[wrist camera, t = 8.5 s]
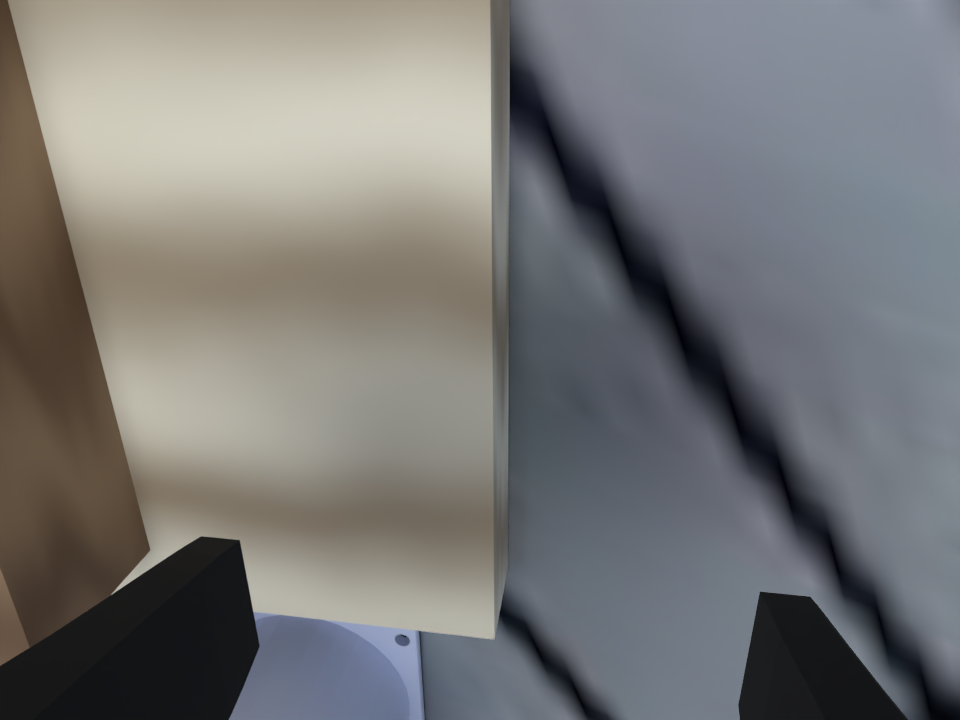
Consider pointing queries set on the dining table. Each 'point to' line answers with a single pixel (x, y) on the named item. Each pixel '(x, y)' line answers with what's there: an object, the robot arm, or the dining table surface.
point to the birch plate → (298, 284)
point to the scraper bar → (51, 400)
